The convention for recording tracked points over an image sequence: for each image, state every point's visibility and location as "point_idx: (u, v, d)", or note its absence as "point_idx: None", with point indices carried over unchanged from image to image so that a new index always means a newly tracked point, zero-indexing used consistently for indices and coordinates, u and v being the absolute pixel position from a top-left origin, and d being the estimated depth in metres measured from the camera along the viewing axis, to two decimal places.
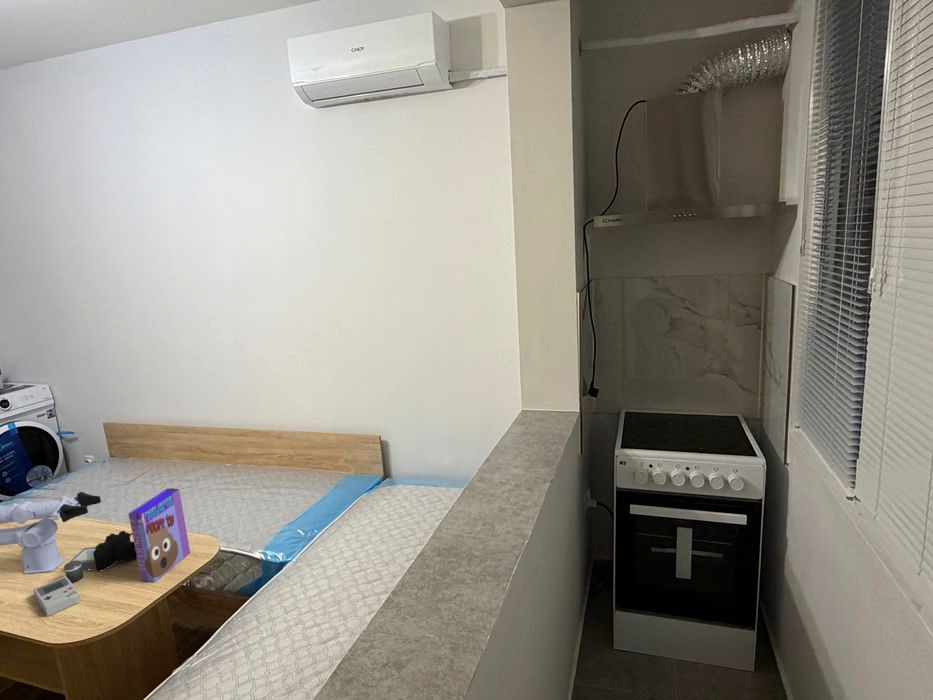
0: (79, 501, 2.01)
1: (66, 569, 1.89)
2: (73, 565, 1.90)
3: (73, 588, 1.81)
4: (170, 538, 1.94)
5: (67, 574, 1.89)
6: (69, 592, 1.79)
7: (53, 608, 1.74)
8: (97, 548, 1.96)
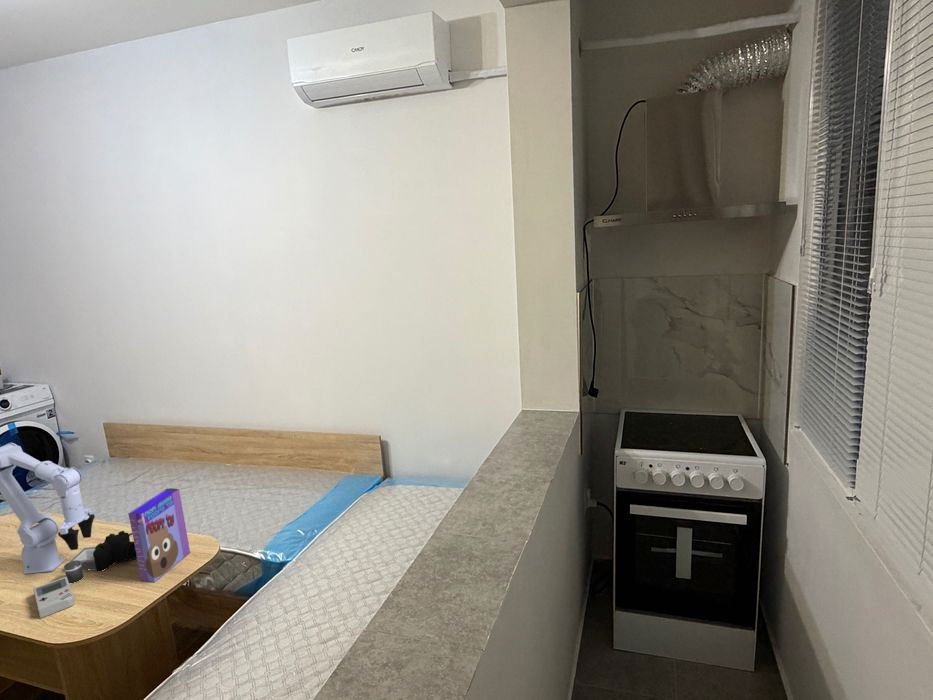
0: None
1: (66, 569, 1.89)
2: (73, 565, 1.90)
3: (69, 590, 1.80)
4: (170, 538, 1.94)
5: (67, 574, 1.89)
6: (64, 594, 1.78)
7: (46, 611, 1.73)
8: (97, 548, 1.96)
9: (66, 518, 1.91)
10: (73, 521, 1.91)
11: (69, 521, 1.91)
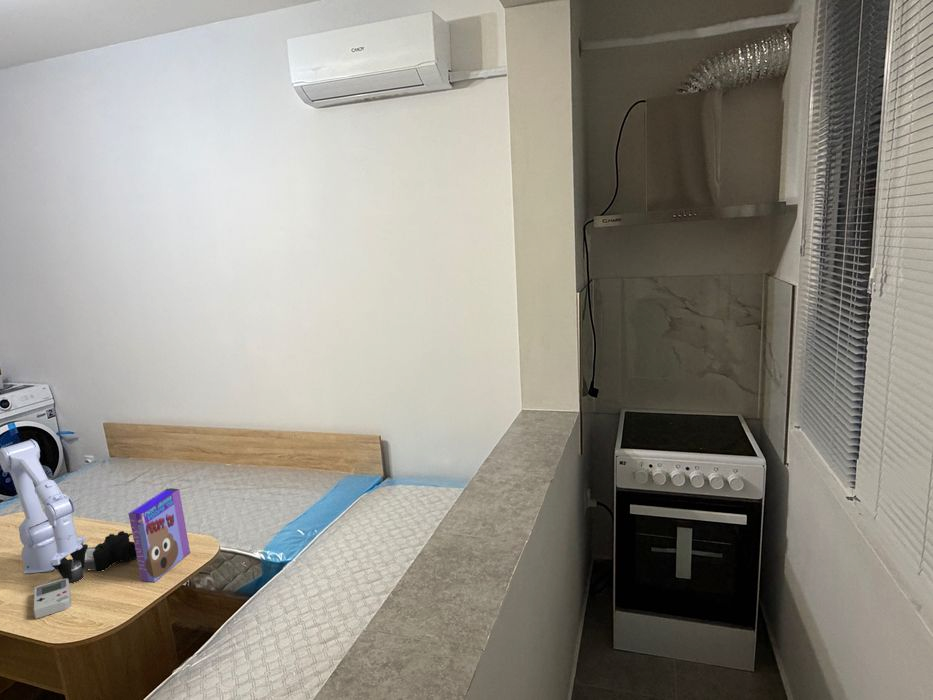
0: None
1: None
2: (73, 565, 1.90)
3: (67, 592, 1.79)
4: (170, 538, 1.94)
5: None
6: (61, 596, 1.77)
7: (42, 612, 1.73)
8: (96, 548, 1.96)
9: (59, 548, 1.86)
10: (66, 551, 1.86)
11: (62, 551, 1.86)
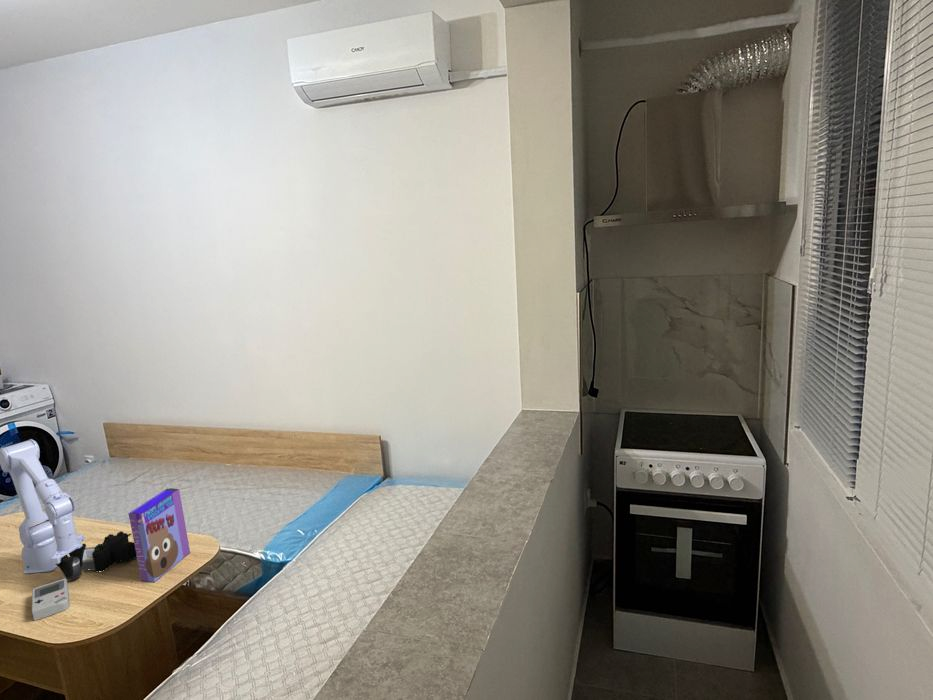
0: (74, 548, 1.92)
1: None
2: None
3: (65, 593, 1.79)
4: (170, 538, 1.94)
5: None
6: (59, 597, 1.76)
7: (40, 614, 1.72)
8: (96, 549, 1.96)
9: (58, 547, 1.87)
10: (66, 550, 1.87)
11: (62, 550, 1.87)
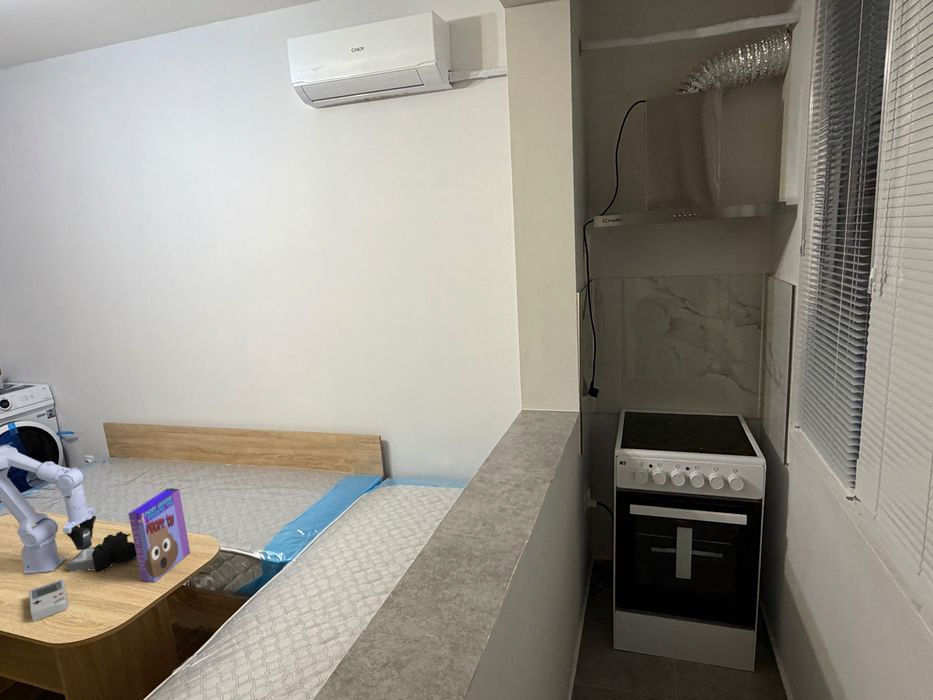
0: None
1: None
2: None
3: (63, 594, 1.78)
4: (170, 538, 1.94)
5: None
6: (58, 598, 1.76)
7: (39, 614, 1.72)
8: (96, 549, 1.95)
9: (69, 517, 1.94)
10: (76, 520, 1.94)
11: (72, 520, 1.94)
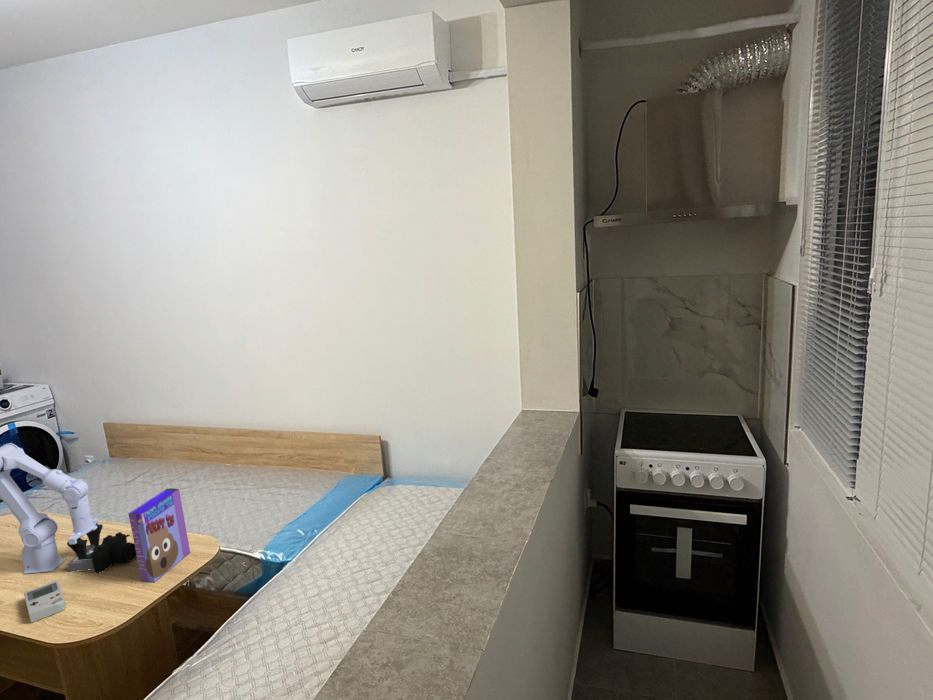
0: None
1: None
2: (88, 549, 2.00)
3: (60, 594, 1.78)
4: (170, 538, 1.94)
5: None
6: (55, 599, 1.76)
7: (37, 615, 1.71)
8: (95, 550, 1.95)
9: (75, 528, 1.96)
10: (82, 531, 1.96)
11: (78, 531, 1.96)
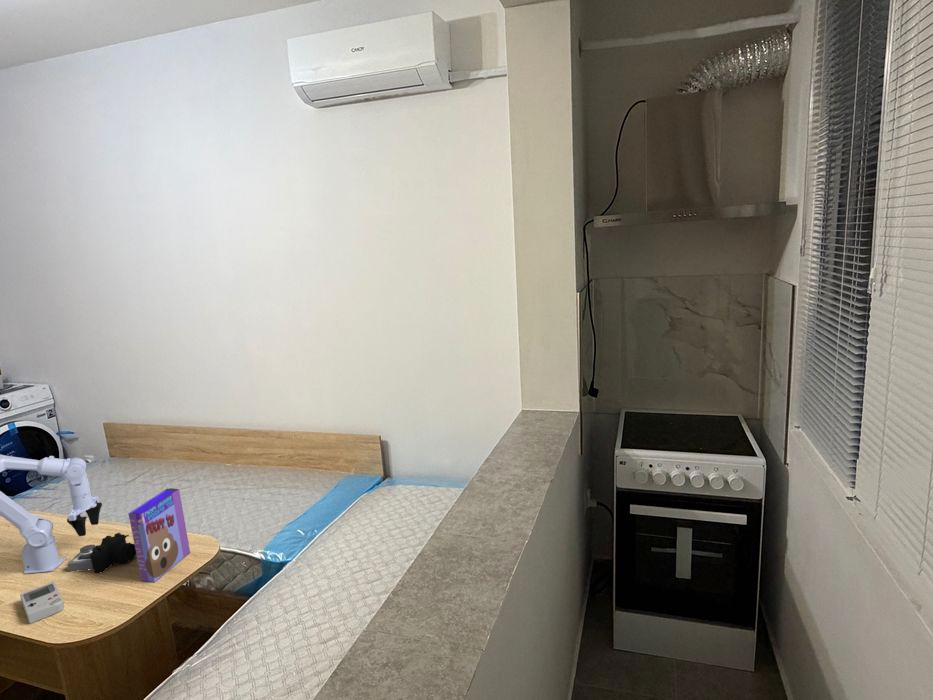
0: None
1: (82, 552, 1.98)
2: (88, 549, 2.00)
3: (58, 595, 1.78)
4: (170, 538, 1.94)
5: (82, 557, 1.99)
6: (53, 599, 1.76)
7: (36, 616, 1.71)
8: (94, 550, 1.95)
9: (74, 505, 2.00)
10: (81, 508, 2.00)
11: (77, 508, 2.00)
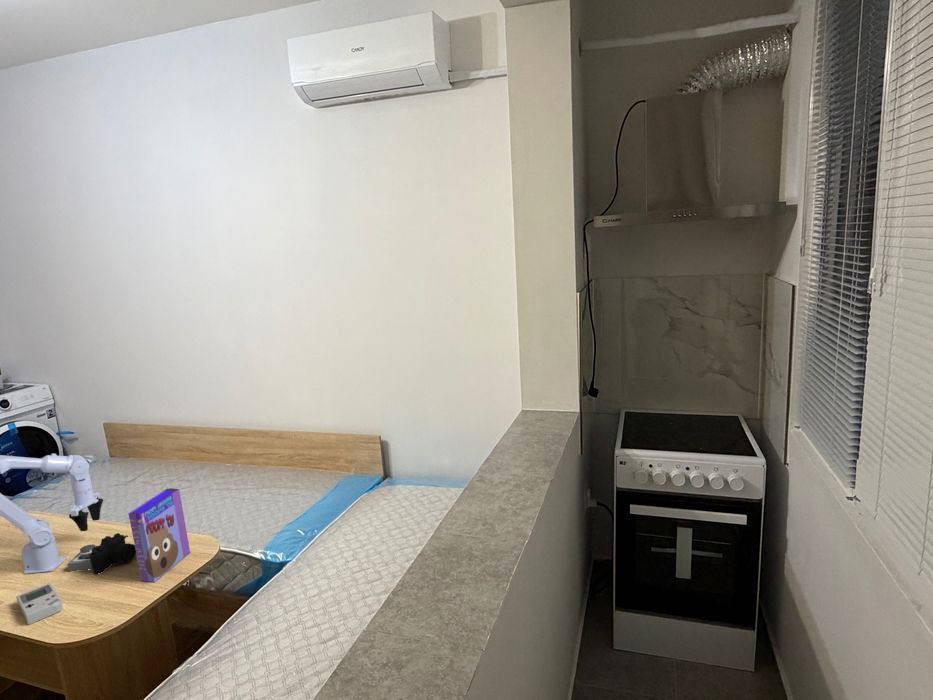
0: (92, 502, 2.11)
1: (82, 552, 1.98)
2: (89, 548, 2.00)
3: (56, 596, 1.78)
4: (170, 538, 1.94)
5: (83, 557, 1.99)
6: (51, 600, 1.76)
7: (34, 617, 1.71)
8: (93, 551, 1.94)
9: (76, 501, 2.04)
10: (83, 504, 2.04)
11: (79, 504, 2.04)
